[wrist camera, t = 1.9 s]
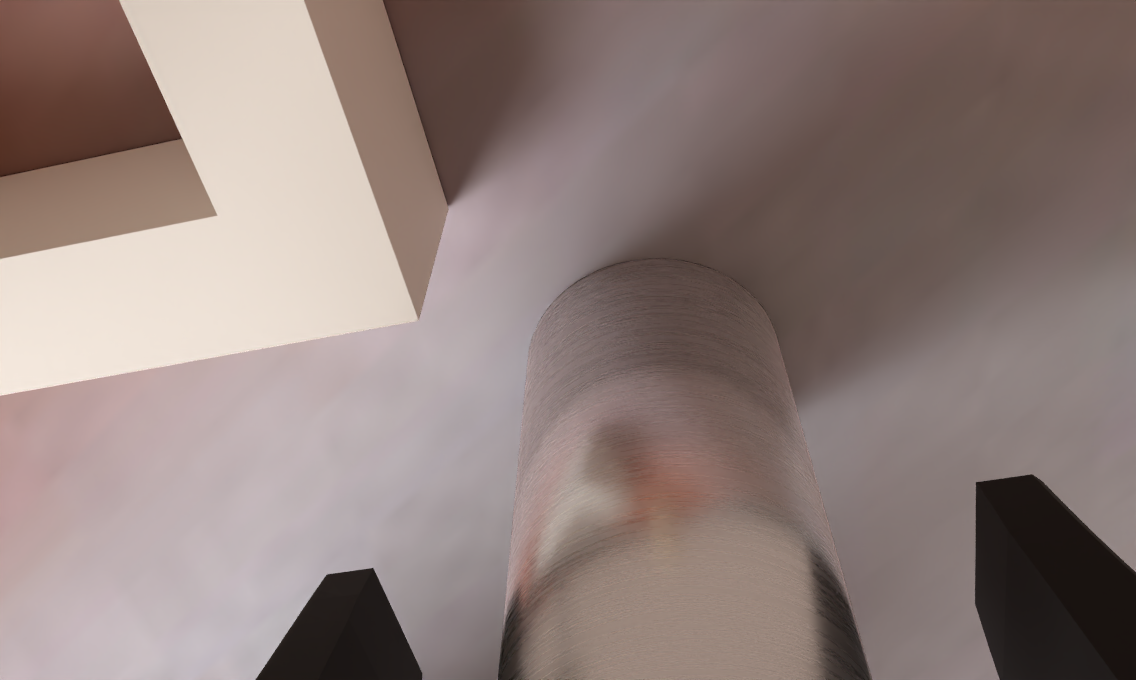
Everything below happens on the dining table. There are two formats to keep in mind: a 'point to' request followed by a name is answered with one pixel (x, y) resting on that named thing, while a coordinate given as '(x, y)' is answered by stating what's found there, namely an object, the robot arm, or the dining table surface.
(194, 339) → the socket block
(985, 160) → the dining table surface
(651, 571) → the peg
